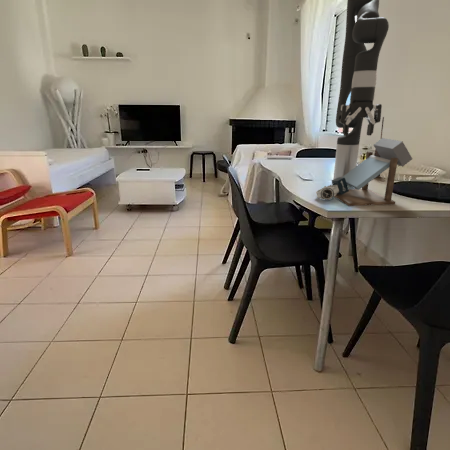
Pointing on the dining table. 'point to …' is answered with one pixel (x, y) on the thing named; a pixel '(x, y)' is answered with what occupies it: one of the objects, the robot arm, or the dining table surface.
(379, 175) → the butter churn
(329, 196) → the watch
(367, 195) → the trapdoor frame
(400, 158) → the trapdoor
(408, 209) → the dining table surface
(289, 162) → the dining table surface
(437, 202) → the dining table surface
